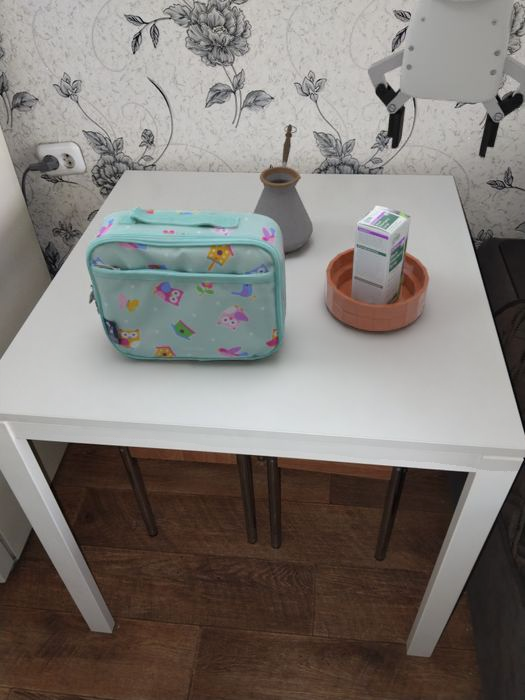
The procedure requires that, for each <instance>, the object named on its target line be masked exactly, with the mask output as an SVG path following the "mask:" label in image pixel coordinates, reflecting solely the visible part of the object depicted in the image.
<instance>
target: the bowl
mask: <svg viewBox="0 0 525 700" xmlns="http://www.w3.org/2000/svg"><path fill="white" fill-rule="evenodd" d="M353 260H354V247H352V248H349V249H346V250H344V251H342V252H340V253H338V254H337V255H335V257H333V258H332V259H331V260H330V261H329V263H328V265H327V268H326V271H325V284H324V285H325V286H324V288H325V289H324V299H325V305H326V307H327V309H328V310H329V312H330V313H331V314H332V315H333V316H334V317H335V318H337V319H338V320H339V321H340V322H341V323H343V324H345V325H348V326H350V327H353V328H355V329H358V330H362V331H363V330H364V331H369V332H390V331H393V330H398V329H402V328H404V327H406V326H408V325H410V324H412V323H414V322H415V321H416V320H417V319H418V318H419V317H420V316H421V314H422V313H423V310H424V306H425V302H426V296H427V291H428V286H429V283H430V276H429V273H428V270H427V268H426V267H425V265H424V264H423V263H422V262H421V261H420V260H419V259H418V258H416V257H415V256H413V255H412V254H410V253H408V252H407V251H406V255H405V262H404V269H403V276H402V283H401V290H400V296H399V297H398V298H397V299H396V300H395V301H394V302H393V303H392V304H370V303H365V302H360V301H357V300H355V299H352V298H351V290H352V276H353Z"/></svg>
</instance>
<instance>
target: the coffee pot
mask: <svg viewBox="0 0 525 700" xmlns="http://www.w3.org/2000/svg"><path fill="white" fill-rule="evenodd" d="M286 128H287V129H286ZM293 128H294V129H295V131H293ZM283 129H284V132H285V134H284V136H285V140H284V143H283V148H282V158H281V159H282V160H281V163H282V165H281V166H273V167H268V168H266V169H264V170H263V171H262V172H261V173H260V174H259V180H260V182H261V183H262V184H263V189H262V191H261V194H260V197H259V199H258V201H257V204H256V206H255V208H254V210H253V214H260V215H264V216H267V217H269V218H271V219H273V220H274V221H275V222H276V223H277V224H278V226H279V228H280V230H281V233H282V238H283V244H284V254H290V253H292V252H295V251H296V250H298V249H299V248H300V247H302V246H303V245H304V244H306V243H307V242H308V241H309V239H310V238H311V236H312V233H313V230H314V226H313V222H312V220H311V218H310V216H309V213H308V212H307V209H306V207H305V205H304V203H303V201H302V199H301V196H300V194H299V192H298V190H297V188H296V186H297V184H298V183H299V181H300V180H301V177H302V176H301V175H300V173H299V172H298V171H297V170H295V169H294V168H291V167H287V164H288V162H289V161H288V160H289V156H290V152H291V145H292V142H291V139H292V137H293V134H295V133H296V132H298V131H297V130H298V128H297V127H296V126H294V125H292V124H291V123H290V124H288V125H286V126H284V128H283Z"/></svg>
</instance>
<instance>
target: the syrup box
mask: <svg viewBox="0 0 525 700" xmlns="http://www.w3.org/2000/svg"><path fill="white" fill-rule="evenodd" d="M410 225H411V215H408V214H406V213H404V212H401V211H399V210H396V209H393V208H390V207H386V206H381V205H378V204H376V205H374V207H373V209H372V210H370V211H369V212H367V213H366V214H365V215H364V216H362V217H361V218H360V220H358V221H356V222H355V234H354V246H353V248H354V260H353V276H352V290H351V298H352V299H355V300H357V301H360V302H365V303H370V304H392V303H393V302H394V301H395V300H396V299H397V298H398V297H399V296H400V290H401V283H402V276H403V269H404V262H405V255H406V252H407V248H408V241H409V240H408V239H409V232H410V227H411V226H410Z"/></svg>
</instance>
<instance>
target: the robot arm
mask: <svg viewBox="0 0 525 700" xmlns="http://www.w3.org/2000/svg"><path fill="white" fill-rule="evenodd" d="M514 3H515V1H514V0H414V2H413V4H412V5H413V6H412V10H411V14H410V19H409V22H408V27H407V32H406V38H405V44H404V48H403V49H401V50H399V51H396V52H394V53H392V54H389V55H388V56H386V57H384V58H380V59H379V60H376V61H375V62H372V63H371V64H370V66H369V68H368V69H367V74H368V77H369V79H370V81H371V84H372V86H373V88H374V93H375V95H376V96H377V98H378V99H379V100H380V101H381V103H382V104H383V105H384V106H385V107H386V111H387V113H388V123H387V133H386V134H387V135H386V138H387V139H388V138H389V139H391V146H390V149H393V150H395V149H397V148H399V146H400V143H401V141H402V138H403V131H404V122H405V114H406V106H405V104H406V103H407V102H408V101H409V100H410V99H411V98H412V99H420V100H433V101H445V102H458V103H459V102H460V103H474V104H480V103H481V104H482V105H483V107H484V108H485V110H486V112H487V113H486V116H485V121H484V126H483V131H482V136H481V141H480V145H479V152H478V157H480V158H484V159H485V158H486V155H487V150H488V148H491V149H492V148H493V149H494V148H495V146H496V145H495V144H496V140H497V135H498V131H499V127H500V123H501V122H502V121H503V120H504V119H505V117H507V116H509V115H510V114H512V112H514V111H515V110H517V109H518V108H520V107H521V106H522V105H523V104H524V101H525V64H523V63H522V62H520V61H519V60H518V59H516V58H514V57H513V56H511V55H510V54H508V48H509V43H510V36H511V31H512V23H513V17H514V16H513V15H514ZM398 68H401V70H400V76H399V88H398V89H397V90H396V91H395V90H394V89H393V87H392V85H390V84H389V82H388V81H387V79H386V75H385V74H387V73H390V72H391V71H393V70H396V69H398ZM503 74H506V75H507V76H508V77H510V78H512V79H513V80H515V81H516V82H518V83H519V85H518V86H517V87H516V89H515V90H513V91H512V92H511V93H510V94H508V95H507V96H506V97H504V98H502V97H501V95H500V93H499V88H500V85H501V82H502V78H503Z"/></svg>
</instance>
